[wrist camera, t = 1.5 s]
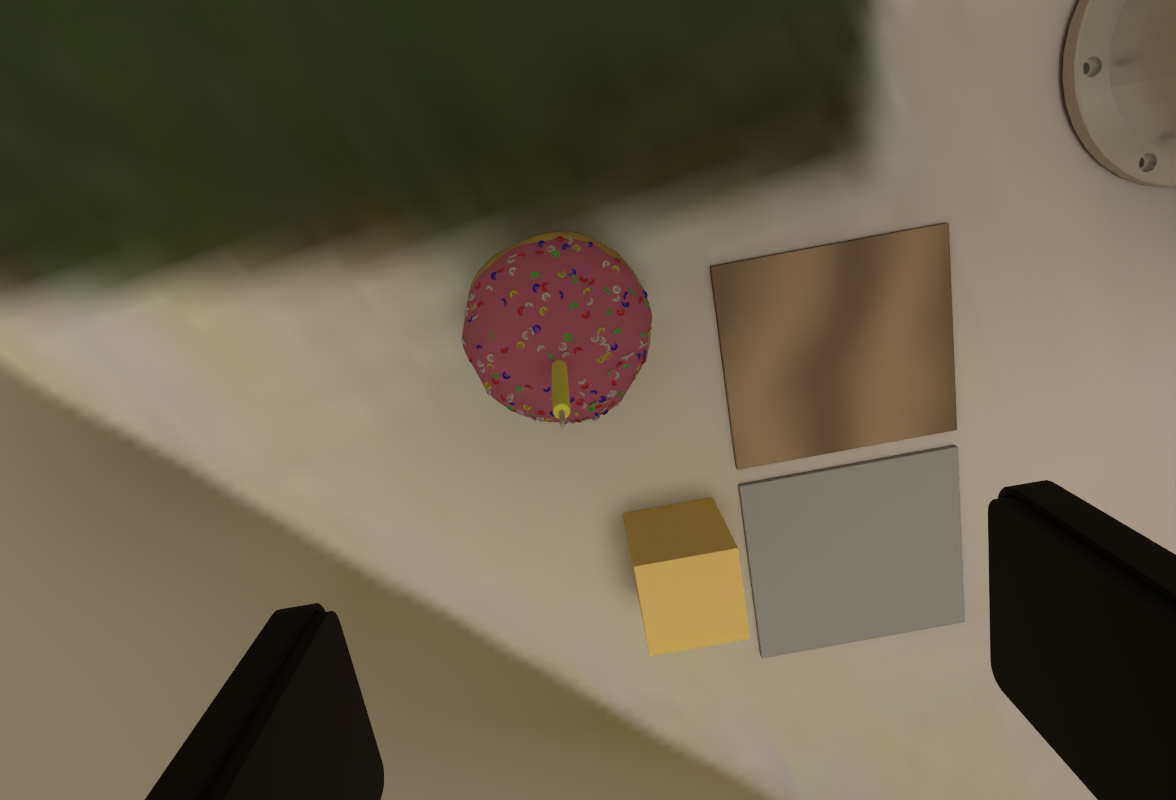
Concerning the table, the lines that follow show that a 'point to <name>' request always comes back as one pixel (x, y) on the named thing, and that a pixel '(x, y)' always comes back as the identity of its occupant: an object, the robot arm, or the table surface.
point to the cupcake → (557, 327)
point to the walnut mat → (837, 345)
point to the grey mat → (855, 551)
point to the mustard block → (686, 576)
